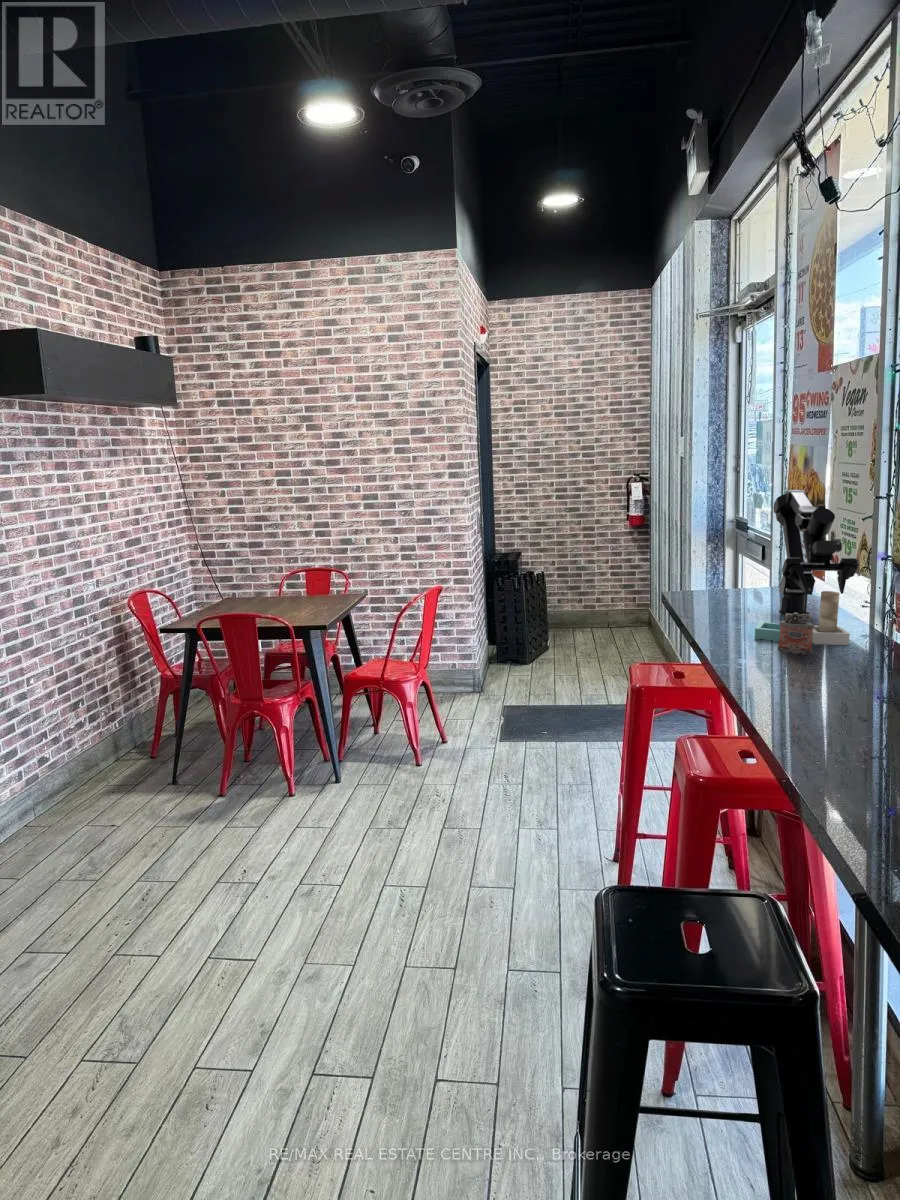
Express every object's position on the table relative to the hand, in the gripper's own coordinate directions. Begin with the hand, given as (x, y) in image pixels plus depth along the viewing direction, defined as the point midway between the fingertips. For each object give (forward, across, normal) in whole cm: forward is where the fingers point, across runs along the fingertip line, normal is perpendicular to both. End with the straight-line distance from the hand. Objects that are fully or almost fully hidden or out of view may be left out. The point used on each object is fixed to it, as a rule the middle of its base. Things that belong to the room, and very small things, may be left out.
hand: (824, 592), depth 223 cm
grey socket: (+12, 0, +5) cm, 13 cm away
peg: (+12, 0, +5) cm, 13 cm away
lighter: (+21, -11, -4) cm, 24 cm away
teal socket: (+11, -13, +6) cm, 18 cm away
